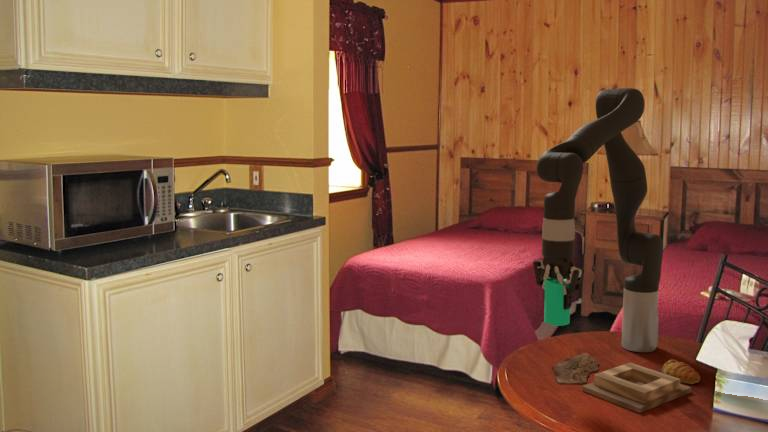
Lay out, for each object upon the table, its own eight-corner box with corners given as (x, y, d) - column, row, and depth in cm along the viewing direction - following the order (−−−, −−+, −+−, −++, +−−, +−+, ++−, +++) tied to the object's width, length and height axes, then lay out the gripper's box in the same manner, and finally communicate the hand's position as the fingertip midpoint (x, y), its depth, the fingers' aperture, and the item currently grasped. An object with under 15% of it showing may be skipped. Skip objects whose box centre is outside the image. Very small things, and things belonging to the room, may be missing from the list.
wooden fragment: (581, 389, 169) (581, 385, 169) (538, 381, 175) (538, 377, 175) (610, 358, 191) (610, 355, 190) (570, 352, 196) (571, 348, 196)
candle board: (632, 372, 179) (633, 358, 178) (690, 392, 166) (691, 377, 165) (582, 390, 168) (582, 376, 167) (639, 413, 155) (640, 397, 154)
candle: (539, 322, 167) (540, 273, 165) (552, 316, 171) (553, 269, 170) (561, 327, 163) (562, 277, 161) (574, 321, 167) (575, 273, 165)
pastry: (707, 383, 172) (708, 368, 172) (687, 388, 169) (687, 373, 169) (677, 370, 181) (678, 356, 180) (658, 375, 178) (658, 360, 177)
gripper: (593, 239, 160) (591, 310, 163) (546, 231, 172) (545, 297, 175) (571, 243, 156) (570, 316, 159) (525, 234, 168) (524, 302, 170)
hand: (557, 306), depth 167 cm, fingers closed on candle, 4 cm apart
